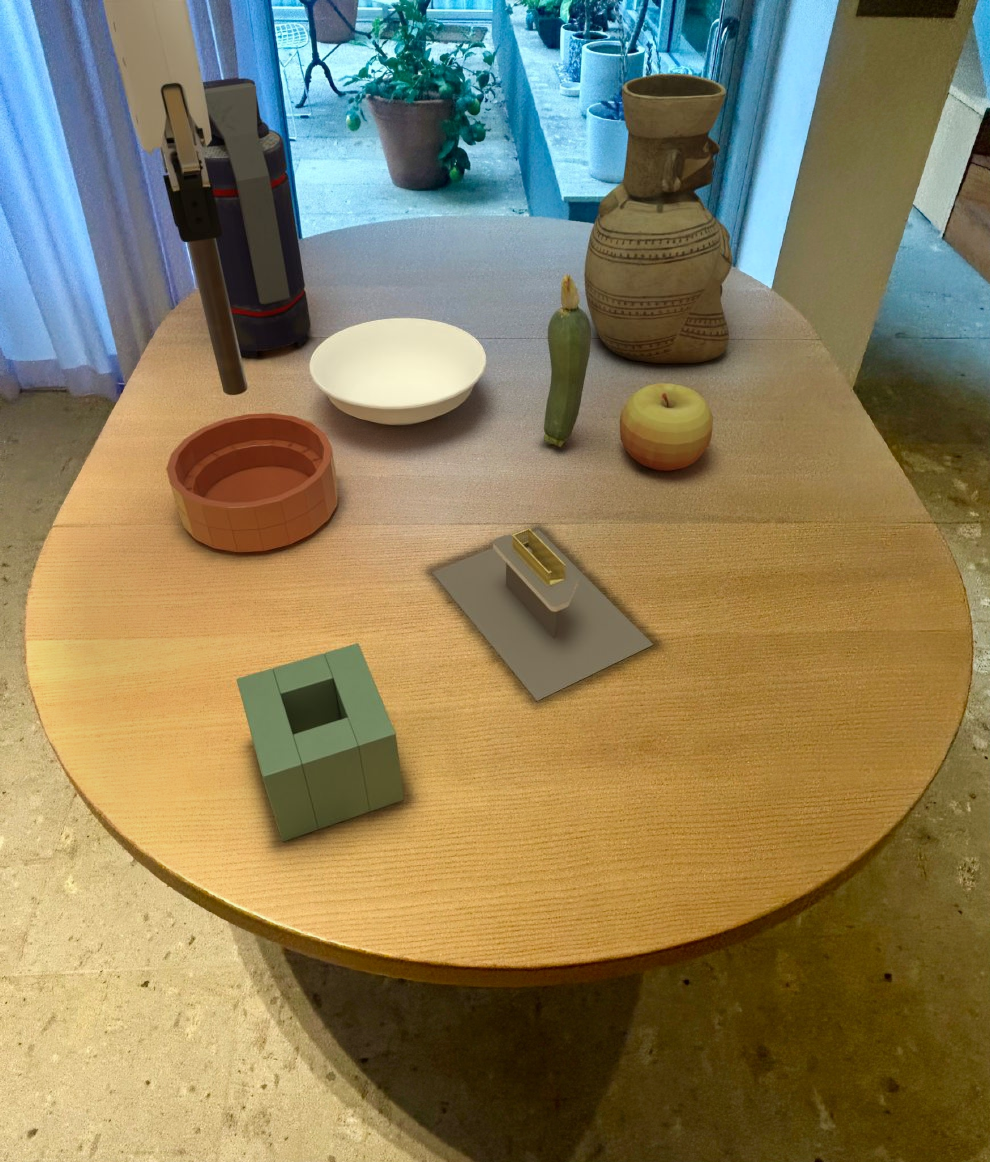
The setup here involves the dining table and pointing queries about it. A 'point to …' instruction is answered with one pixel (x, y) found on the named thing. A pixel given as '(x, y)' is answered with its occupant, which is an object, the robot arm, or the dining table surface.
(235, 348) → the stick
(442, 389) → the bowl
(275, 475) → the mixing bowl
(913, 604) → the dining table surface
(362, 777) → the stand
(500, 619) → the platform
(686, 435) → the apple
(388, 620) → the dining table surface
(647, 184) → the ceramic vessel
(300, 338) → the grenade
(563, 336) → the vegetable
